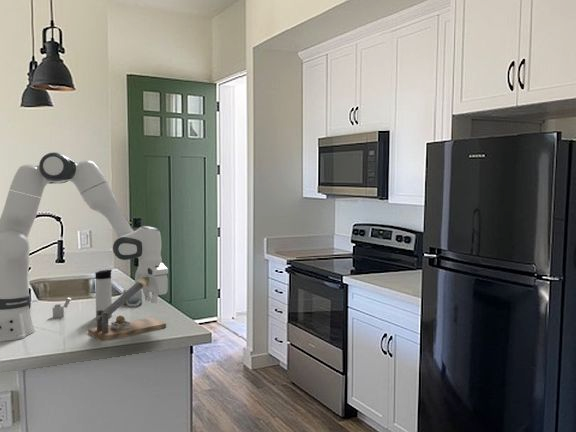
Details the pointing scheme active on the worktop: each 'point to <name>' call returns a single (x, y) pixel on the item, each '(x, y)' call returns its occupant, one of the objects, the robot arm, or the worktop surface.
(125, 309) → the worktop surface
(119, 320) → the walnut
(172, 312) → the worktop surface
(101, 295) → the travel mug
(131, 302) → the ceramic mug
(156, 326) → the nutcracker base
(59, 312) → the lighter
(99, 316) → the lever
